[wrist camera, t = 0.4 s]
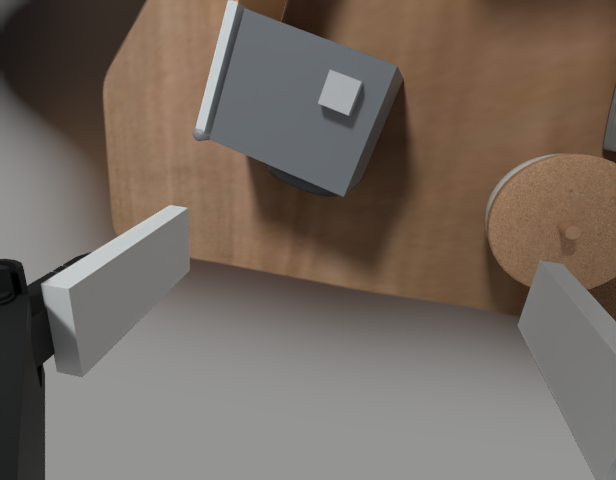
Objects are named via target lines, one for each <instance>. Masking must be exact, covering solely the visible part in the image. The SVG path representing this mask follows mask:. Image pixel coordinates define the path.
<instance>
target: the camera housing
mask: <svg viewBox="0 0 616 480" xmlns="http://www.w3.org/2000/svg"><path fill="white" fill-rule="evenodd" d="M402 82H403V77H402V75H401V73H400V70H399V68H398V66H396V65H393V64H391V63H388V62H386V61H383V60H380V59H378V58H375V57H372V56H370V55H367V54H364V53H362V52H359V51H356V50H354V49H351V48H348V47H346V46H343V45H340V44H338V43H335V42H332V41H330V40H327V39H325V38H322V37H319V36H317V35H314V34H311V33H309V32H306V31H303V30H301V29H298V28H295V27H293V26H290V25H287V24H285V23H282V22H279V21H277V20H274V19H272V18H269V17H266V16H264V15H261V14H258V13H256V12H253V11H250V10H248V9H245V8H244V12H243V16H242V20H241V23H240V27H239V31H238V34H237V38H236V42H235V46H234V49H233V53H232V57H231V60H230V64H229V68H228V72H227V75H226V79H225V83H224V86H223V90H222V94H221V97H220V101H219V105H218V109H217V112H216V116H215V120H214V123H213V127H212V131H211V135H210V138H209V139H210V140H212V141H215V142H217V143H219V144H222V145H224V146H226V147H229V148H231V149H233V150H235V151H238V152H240V153H242V154H245V155H247V156H249V157H252V158H254V159H256V160H259V161H261V162H263V163H266V164H268V166H267V170H268V171H269V172H270V173H271V174H272V175H273V176H275V177H276V178H278V179H280V180H282V181H283V182H285V183H287V184H290V185H292V186H294V187H296V188H299V189H302V190H305V191H308V192H311V193H314V194H318V195H323V196H338V195H340V196H342V197H344V196H345V195H346V194H347V193H348V192H349V191H350V190H351V189H352V188H353V187H354V186H355V185H356V184H357V183H358V182H360V181H361V179H362V177H363V175H364V172H365V170H366V167H367V165H368V163H369V160H370V158H371V156H372V153H373V151H374V148H375V146H376V144H377V141H378V139H379V136H380V134H381V132H382V129H383V127H384V125H385V122H386V120H387V117H388V115H389V113H390V110H391V108H392V106H393V103H394V101H395V98H396V96H397V94H398V91H399V89H400V86H401V84H402Z"/></svg>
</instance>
